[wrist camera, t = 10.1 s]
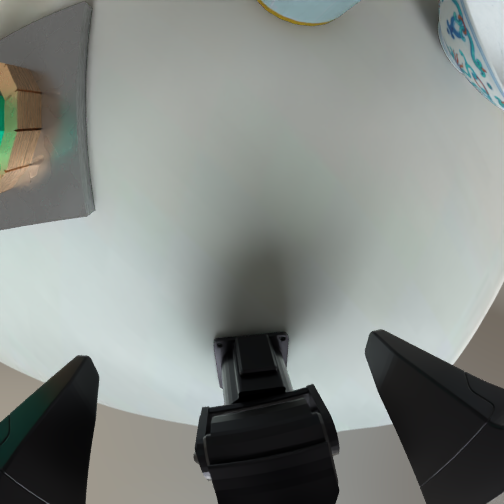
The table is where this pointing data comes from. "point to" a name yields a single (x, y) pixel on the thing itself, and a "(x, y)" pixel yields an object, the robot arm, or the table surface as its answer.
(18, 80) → the square plate with hole
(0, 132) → the candle
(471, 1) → the chinaware
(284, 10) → the bottle
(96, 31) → the table surface
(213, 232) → the table surface
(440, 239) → the table surface
